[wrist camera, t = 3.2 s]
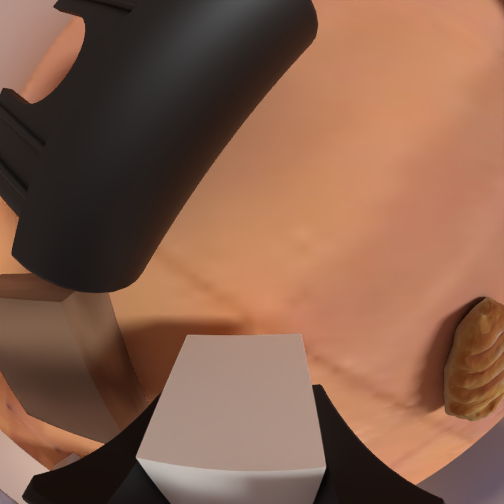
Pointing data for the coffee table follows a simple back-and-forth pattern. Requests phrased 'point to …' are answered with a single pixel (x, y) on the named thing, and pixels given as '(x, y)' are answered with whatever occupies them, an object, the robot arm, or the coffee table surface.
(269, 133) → the coffee table surface
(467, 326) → the pastry
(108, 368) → the walnut base
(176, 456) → the white block
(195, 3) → the end cap
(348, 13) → the coffee table surface
